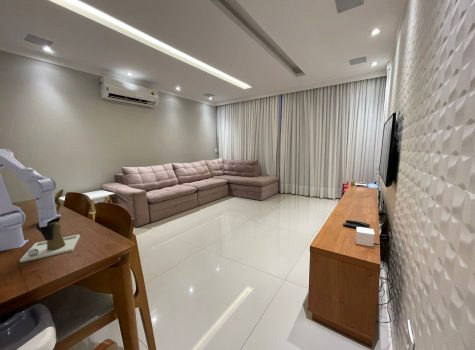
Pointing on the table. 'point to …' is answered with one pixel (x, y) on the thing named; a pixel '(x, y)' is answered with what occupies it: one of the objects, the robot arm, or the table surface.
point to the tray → (43, 251)
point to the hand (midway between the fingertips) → (51, 236)
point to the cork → (56, 238)
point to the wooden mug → (58, 200)
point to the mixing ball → (32, 252)
